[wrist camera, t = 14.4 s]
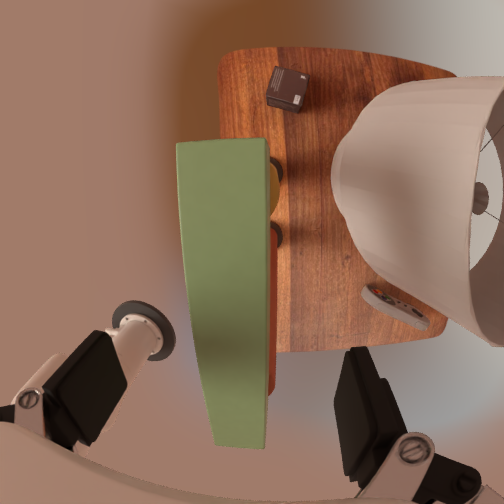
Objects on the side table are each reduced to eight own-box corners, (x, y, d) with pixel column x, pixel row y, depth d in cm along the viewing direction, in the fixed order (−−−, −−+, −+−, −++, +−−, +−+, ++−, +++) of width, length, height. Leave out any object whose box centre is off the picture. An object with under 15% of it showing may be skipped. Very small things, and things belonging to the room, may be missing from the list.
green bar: (224, 401, 17) (214, 445, 13) (205, 149, 12) (174, 142, 8) (267, 403, 17) (264, 449, 13) (269, 146, 12) (266, 137, 8)
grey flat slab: (421, 309, 54) (437, 327, 46) (416, 317, 55) (431, 335, 47) (361, 278, 53) (373, 296, 45) (355, 287, 54) (366, 306, 46)
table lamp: (288, 202, 50) (320, 319, 12) (346, 89, 42) (468, -27, 4) (392, 261, 51) (511, 395, 13) (444, 160, 43) (603, 184, 6)
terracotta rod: (251, 251, 53) (205, 407, 17) (250, 220, 52) (193, 345, 15) (282, 251, 53) (287, 412, 17) (282, 220, 51) (294, 350, 15)
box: (275, 77, 43) (274, 64, 36) (306, 86, 43) (311, 74, 36) (266, 105, 45) (264, 95, 38) (298, 114, 45) (301, 106, 38)
